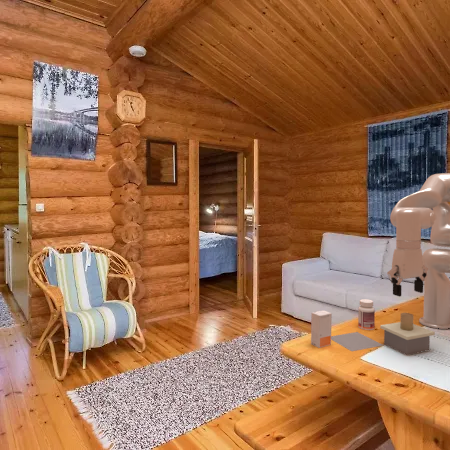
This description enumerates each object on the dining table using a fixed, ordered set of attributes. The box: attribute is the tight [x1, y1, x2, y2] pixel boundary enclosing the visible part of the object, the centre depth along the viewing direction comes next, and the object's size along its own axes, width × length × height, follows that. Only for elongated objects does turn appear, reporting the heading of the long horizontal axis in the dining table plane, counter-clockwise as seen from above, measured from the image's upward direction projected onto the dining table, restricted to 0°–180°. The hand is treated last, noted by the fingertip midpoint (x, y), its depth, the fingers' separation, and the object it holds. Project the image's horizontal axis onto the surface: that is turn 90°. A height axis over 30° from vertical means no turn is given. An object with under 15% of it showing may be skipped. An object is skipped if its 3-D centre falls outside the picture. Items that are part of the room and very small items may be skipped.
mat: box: [331, 331, 385, 352], centre depth 132 cm, size 14×14×1 cm
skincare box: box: [310, 310, 333, 349], centre depth 129 cm, size 6×4×12 cm
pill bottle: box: [357, 298, 376, 331], centre depth 146 cm, size 6×6×11 cm
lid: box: [379, 312, 436, 340], centre depth 126 cm, size 12×12×6 cm
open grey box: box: [383, 329, 431, 356], centre depth 126 cm, size 10×10×6 cm
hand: (407, 293), depth 125 cm, fingers open, 9 cm apart
